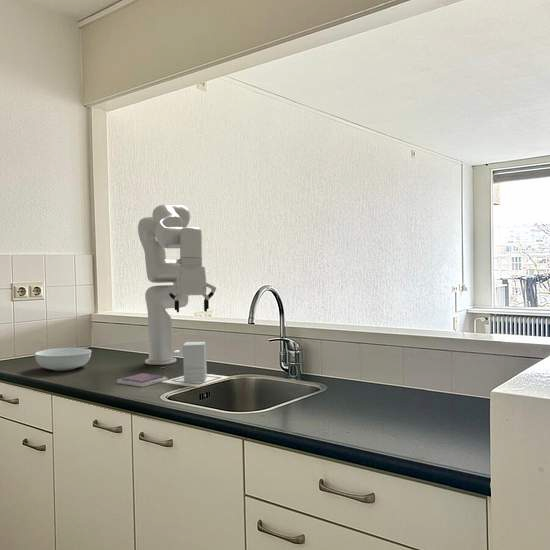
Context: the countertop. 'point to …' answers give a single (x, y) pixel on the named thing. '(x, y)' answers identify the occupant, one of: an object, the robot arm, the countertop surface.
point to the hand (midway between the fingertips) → (191, 311)
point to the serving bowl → (63, 358)
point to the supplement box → (194, 361)
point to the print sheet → (208, 380)
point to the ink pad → (142, 379)
